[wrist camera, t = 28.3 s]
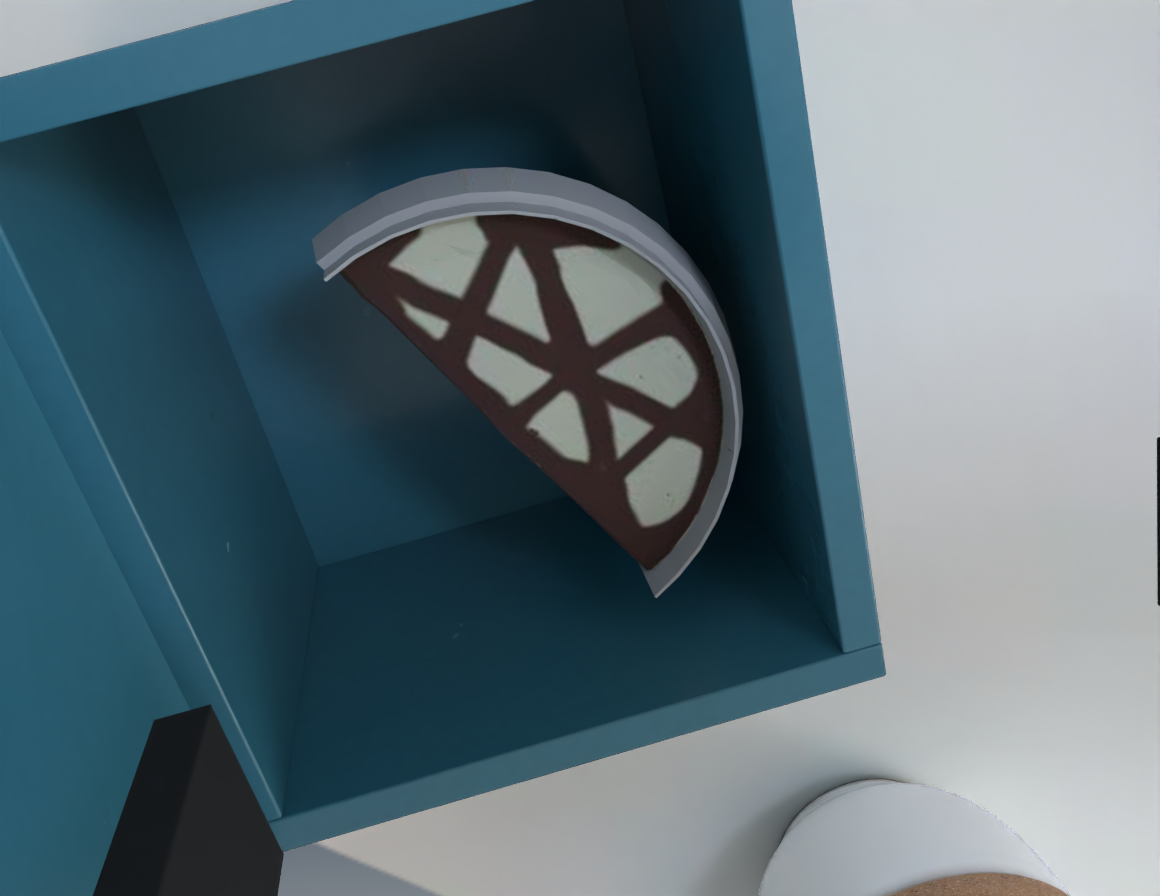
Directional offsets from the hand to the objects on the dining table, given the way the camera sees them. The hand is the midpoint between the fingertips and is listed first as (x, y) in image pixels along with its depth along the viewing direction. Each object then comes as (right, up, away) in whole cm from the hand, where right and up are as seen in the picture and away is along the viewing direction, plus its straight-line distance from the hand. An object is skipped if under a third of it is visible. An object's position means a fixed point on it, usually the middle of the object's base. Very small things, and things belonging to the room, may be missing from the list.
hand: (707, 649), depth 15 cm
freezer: (-6, +8, +20) cm, 22 cm away
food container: (-3, +9, +19) cm, 21 cm away
